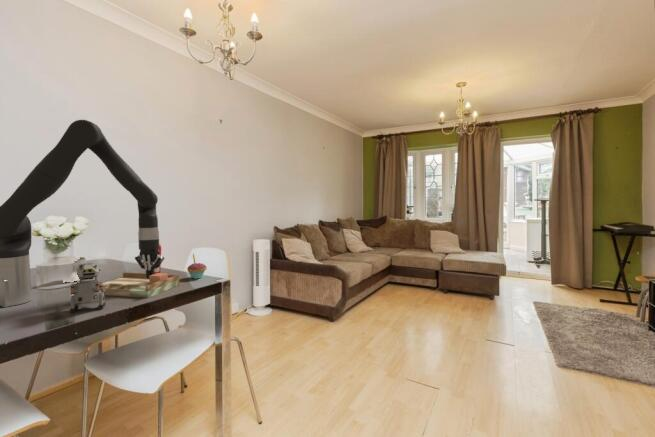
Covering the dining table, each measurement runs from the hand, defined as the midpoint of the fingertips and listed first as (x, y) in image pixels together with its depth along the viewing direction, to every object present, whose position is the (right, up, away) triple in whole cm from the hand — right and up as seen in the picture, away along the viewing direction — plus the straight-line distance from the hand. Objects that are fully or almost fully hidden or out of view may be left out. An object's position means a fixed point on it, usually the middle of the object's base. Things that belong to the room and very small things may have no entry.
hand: (150, 278), depth 131 cm
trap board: (-5, -4, -2) cm, 7 cm away
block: (+4, -2, -1) cm, 5 cm away
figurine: (-8, -6, -24) cm, 25 cm away
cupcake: (+13, -3, +17) cm, 22 cm away
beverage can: (-12, -3, +25) cm, 28 cm away
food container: (-41, -4, +13) cm, 43 cm away
